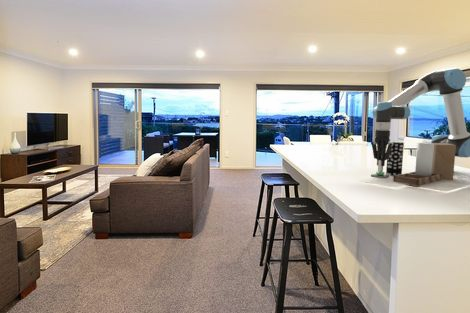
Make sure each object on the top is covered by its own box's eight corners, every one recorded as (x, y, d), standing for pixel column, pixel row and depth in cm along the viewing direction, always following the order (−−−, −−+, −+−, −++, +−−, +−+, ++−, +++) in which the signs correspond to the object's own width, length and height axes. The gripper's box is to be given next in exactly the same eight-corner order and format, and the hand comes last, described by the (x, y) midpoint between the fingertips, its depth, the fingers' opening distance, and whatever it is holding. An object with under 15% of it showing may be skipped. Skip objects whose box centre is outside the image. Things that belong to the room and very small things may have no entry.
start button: (378, 176, 202) (378, 171, 202) (385, 177, 199) (386, 172, 199) (374, 177, 200) (374, 171, 199) (381, 178, 196) (381, 173, 196)
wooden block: (453, 181, 193) (456, 144, 190) (433, 180, 195) (436, 144, 192) (446, 178, 202) (449, 143, 200) (427, 177, 204) (429, 142, 202)
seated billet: (419, 177, 198) (421, 142, 196) (433, 180, 192) (436, 143, 189) (412, 179, 193) (414, 143, 191) (427, 181, 187) (430, 144, 184)
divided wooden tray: (416, 178, 202) (417, 171, 201) (440, 181, 191) (441, 174, 191) (393, 183, 186) (393, 175, 186) (418, 187, 176) (418, 179, 176)
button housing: (377, 176, 204) (377, 173, 204) (389, 178, 199) (389, 175, 199) (370, 178, 200) (371, 174, 200) (382, 180, 195) (382, 176, 194)
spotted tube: (400, 175, 209) (402, 142, 207) (402, 178, 201) (404, 143, 199) (385, 174, 212) (387, 141, 209) (386, 177, 204) (388, 142, 201)
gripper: (368, 129, 199) (366, 170, 202) (390, 130, 189) (387, 174, 192) (375, 129, 203) (373, 169, 206) (397, 130, 193) (394, 172, 196)
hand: (380, 171), depth 199 cm, fingers closed
